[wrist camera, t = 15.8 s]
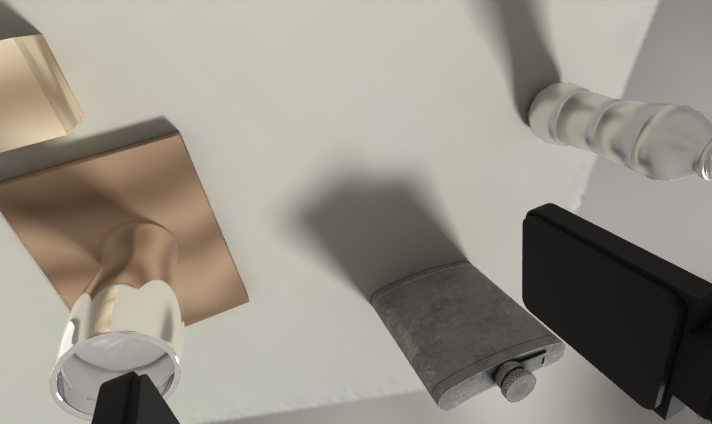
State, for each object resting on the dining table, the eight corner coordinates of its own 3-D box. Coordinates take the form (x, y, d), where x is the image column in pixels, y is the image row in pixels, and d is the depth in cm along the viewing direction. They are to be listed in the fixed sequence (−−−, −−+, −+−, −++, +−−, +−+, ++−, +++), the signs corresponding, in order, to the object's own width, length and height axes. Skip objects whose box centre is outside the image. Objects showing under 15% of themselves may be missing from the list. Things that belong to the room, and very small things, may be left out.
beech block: (-55, 54, 28) (-107, 63, 23) (42, 33, 29) (12, 37, 24) (-1, 138, 31) (-37, 162, 26) (85, 116, 32) (67, 134, 27)
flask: (368, 287, 49) (452, 408, 34) (471, 253, 53) (588, 348, 38) (371, 311, 51) (452, 436, 36) (471, 276, 55) (582, 376, 39)
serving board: (-6, 183, 32) (-14, 190, 30) (179, 130, 35) (179, 135, 34) (107, 347, 40) (104, 358, 39) (247, 293, 43) (249, 301, 42)
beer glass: (75, 253, 34) (10, 392, 22) (140, 200, 34) (115, 307, 22) (142, 299, 38) (121, 441, 25) (201, 251, 38) (210, 368, 26)
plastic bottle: (564, 70, 47) (782, 101, 30) (566, 125, 50) (763, 181, 33) (517, 92, 45) (715, 137, 29) (523, 147, 49) (703, 216, 32)
